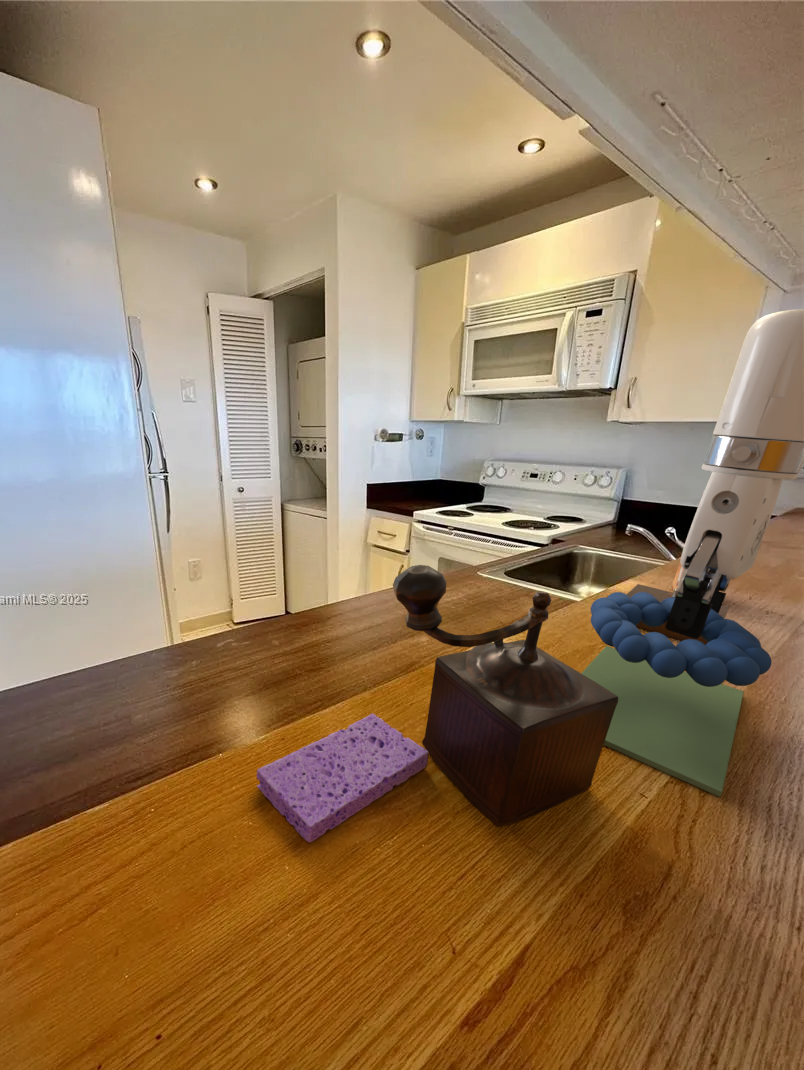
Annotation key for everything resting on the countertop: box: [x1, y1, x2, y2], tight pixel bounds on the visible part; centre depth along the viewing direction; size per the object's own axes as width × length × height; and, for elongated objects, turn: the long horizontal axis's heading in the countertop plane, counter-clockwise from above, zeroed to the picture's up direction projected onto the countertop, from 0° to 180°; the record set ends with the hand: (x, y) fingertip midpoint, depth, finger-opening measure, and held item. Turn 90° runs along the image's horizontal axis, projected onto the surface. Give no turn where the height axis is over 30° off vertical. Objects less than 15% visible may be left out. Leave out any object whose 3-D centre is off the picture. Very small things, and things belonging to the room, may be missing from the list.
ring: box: [590, 591, 772, 687], centre depth 49 cm, size 18×15×3 cm
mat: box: [580, 645, 745, 798], centre depth 52 cm, size 22×15×1 cm
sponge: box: [256, 713, 429, 843], centre depth 39 cm, size 7×13×2 cm, turn 131°
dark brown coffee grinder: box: [392, 564, 618, 828], centre depth 37 cm, size 16×11×18 cm
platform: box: [625, 583, 730, 645], centre depth 73 cm, size 13×13×6 cm
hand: (690, 625), depth 53 cm, fingers closed on ring, 4 cm apart
